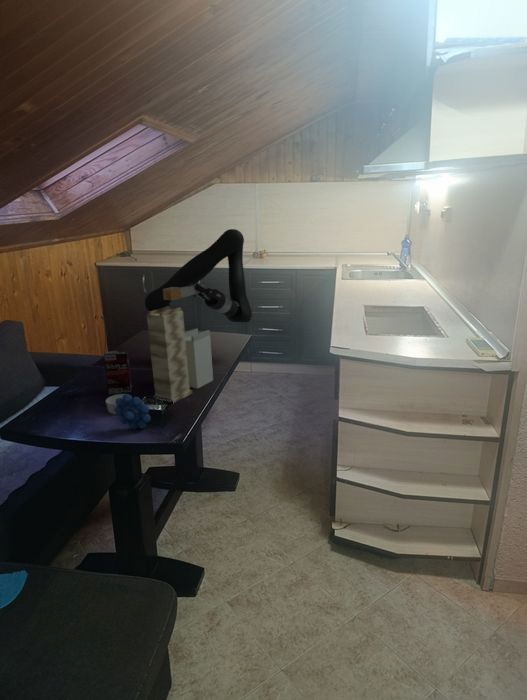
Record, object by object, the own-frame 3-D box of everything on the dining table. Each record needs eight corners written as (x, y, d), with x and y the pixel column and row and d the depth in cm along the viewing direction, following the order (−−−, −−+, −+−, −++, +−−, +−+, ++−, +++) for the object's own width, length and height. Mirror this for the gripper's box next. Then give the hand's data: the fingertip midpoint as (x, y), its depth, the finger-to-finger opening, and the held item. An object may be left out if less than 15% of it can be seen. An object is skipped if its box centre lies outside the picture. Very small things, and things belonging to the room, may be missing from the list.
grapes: (111, 434, 147) (106, 399, 144) (120, 425, 154) (115, 391, 150) (147, 435, 146) (143, 400, 142) (154, 425, 152) (150, 391, 149)
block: (171, 300, 165) (170, 289, 164) (163, 299, 167) (162, 289, 166) (204, 292, 180) (204, 282, 178) (197, 291, 182) (196, 281, 180)
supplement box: (108, 394, 179) (102, 355, 174) (109, 390, 184) (104, 351, 179) (131, 392, 181) (126, 353, 176) (132, 387, 185) (127, 349, 180)
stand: (172, 403, 169) (163, 314, 159) (153, 398, 174) (143, 311, 164) (192, 393, 178) (185, 307, 168) (173, 388, 183) (165, 305, 173)
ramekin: (122, 416, 160) (121, 405, 159) (101, 413, 163) (99, 402, 162) (138, 406, 168) (136, 395, 167) (117, 403, 171) (116, 392, 170)
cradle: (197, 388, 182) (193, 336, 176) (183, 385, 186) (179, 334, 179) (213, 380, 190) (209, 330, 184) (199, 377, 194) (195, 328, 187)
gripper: (229, 311, 186) (204, 296, 172) (202, 308, 194) (175, 293, 179) (234, 294, 187) (209, 277, 173) (207, 291, 195) (181, 275, 180)
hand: (192, 286), depth 176 cm, fingers closed on block, 3 cm apart
